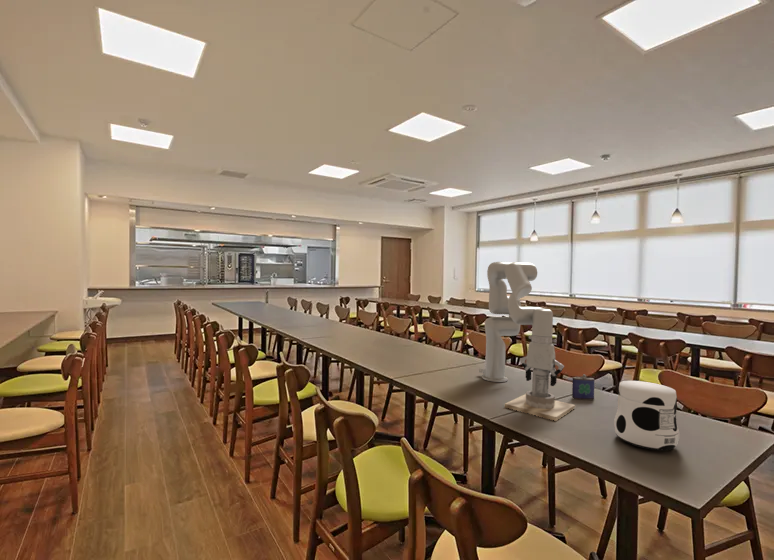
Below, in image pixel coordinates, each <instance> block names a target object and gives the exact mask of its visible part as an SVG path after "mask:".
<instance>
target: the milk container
mask: <svg viewBox="0 0 774 560" xmlns="http://www.w3.org/2000/svg"><path fill="white" fill-rule="evenodd" d="M617 393H618V394H617V410H616V413H615V416H614V419H613V425H614V426H613V427H614V432H615V435H617V438H619V439H620V440H622V441H624V442H625V443H627V444H629V445H633V446H634V447H637V448H642V449H646V450H652V451H662V452H663V451H669V450H673V449H676V447H677V446H678V443H679V440H680V430H679V427H678V422H677V411H678V409H677V408H678V405H677V402H678V401H677V400H678V398H677V391H676V389H674V388H672V387H671V386H666V385H663V384H658V383H655V382H649V381H648V382H647V381H641V380H622V381H619V386H618V391H617Z"/></svg>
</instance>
